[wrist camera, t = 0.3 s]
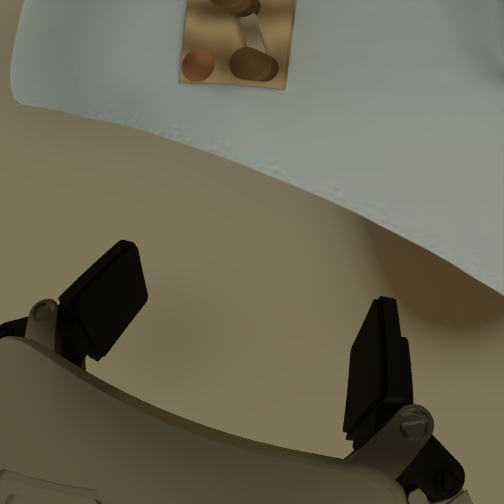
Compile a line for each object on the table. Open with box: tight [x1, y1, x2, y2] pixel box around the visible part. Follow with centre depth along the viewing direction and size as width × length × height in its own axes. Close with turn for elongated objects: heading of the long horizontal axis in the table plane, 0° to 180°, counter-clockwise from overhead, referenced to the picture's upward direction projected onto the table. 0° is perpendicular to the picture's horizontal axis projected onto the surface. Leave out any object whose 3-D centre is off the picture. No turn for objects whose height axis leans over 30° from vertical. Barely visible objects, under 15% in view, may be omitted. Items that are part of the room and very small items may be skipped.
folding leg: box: [211, 0, 279, 82], centre depth 24 cm, size 13×4×7 cm, turn 14°
